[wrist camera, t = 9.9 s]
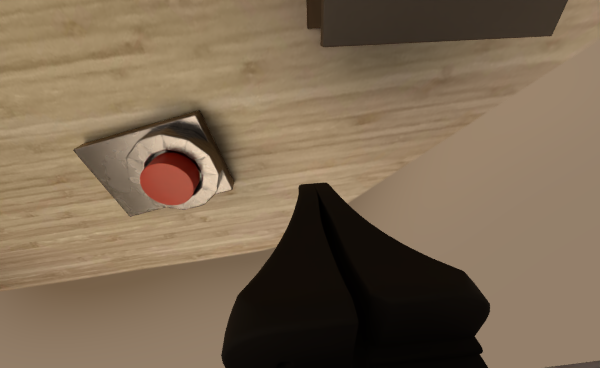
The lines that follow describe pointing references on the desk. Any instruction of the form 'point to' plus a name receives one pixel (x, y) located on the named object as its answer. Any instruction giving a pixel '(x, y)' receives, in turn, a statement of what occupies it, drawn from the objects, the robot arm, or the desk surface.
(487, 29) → the lid
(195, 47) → the desk surface
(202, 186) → the button block
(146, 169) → the button
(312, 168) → the desk surface
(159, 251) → the desk surface
